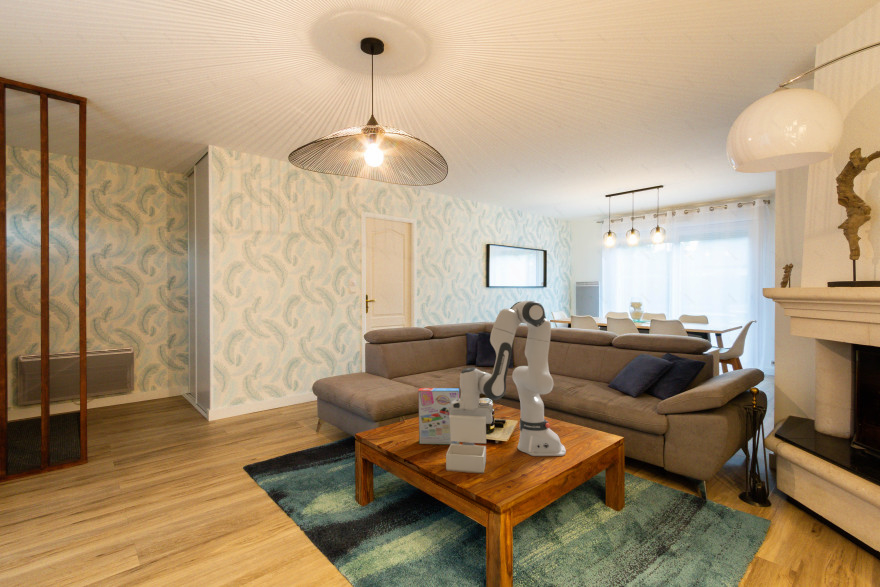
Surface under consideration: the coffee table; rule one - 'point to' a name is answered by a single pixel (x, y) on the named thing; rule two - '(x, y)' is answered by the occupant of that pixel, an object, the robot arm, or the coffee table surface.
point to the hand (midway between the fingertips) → (471, 432)
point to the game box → (435, 414)
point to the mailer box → (466, 458)
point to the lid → (468, 429)
